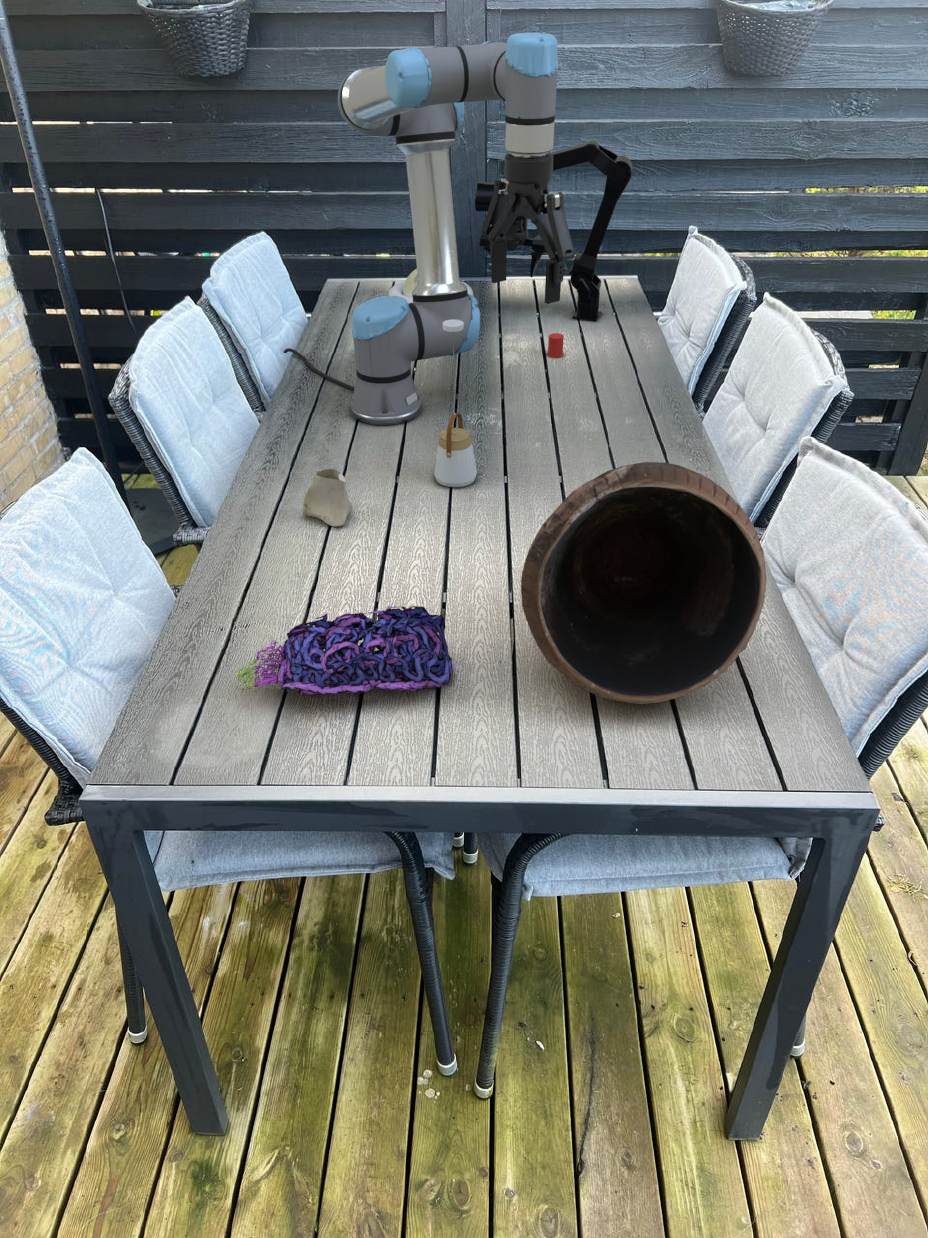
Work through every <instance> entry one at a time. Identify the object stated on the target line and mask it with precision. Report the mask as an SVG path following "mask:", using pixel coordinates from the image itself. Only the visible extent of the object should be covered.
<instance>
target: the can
mask: <svg viewBox="0 0 928 1238" xmlns="http://www.w3.org/2000/svg"><path fill="white" fill-rule="evenodd" d="M564 339H565V336H564V334H563V333H559V332H554V333H553V332H552V333H550V334H549V335H548V342H547V356H548V357H549V358H554V359H558V358H561V357H563V355H564Z"/></svg>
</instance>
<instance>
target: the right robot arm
mask: <svg viewBox="0 0 928 1238" xmlns="http://www.w3.org/2000/svg"><path fill="white" fill-rule="evenodd" d="M550 153H551V154H552V155H553V171H557V170H562V169H565V168H568V167H572V166H576V165H581V164H584V163H589V164H591V165H592V166H593V167H594V168H596V169H597V170H598V171H599V172H600V173H601V174H603V175H604V176H606V180H605V184H604V185H605V186H604V191H603V196H602V199H601V202H600V205H599V208H598V209H597V214H596V216H595V218H594V221H593V225H592V228H591V230H590V232H589V236H588V239H587V241H586V245H585V247H584V248H583V251H582V252H581V253H579V252H575V257H574V258H573V263H572V265H571V266H570V269H569V272H568V275H569V276H570V284H571V286H572V287H573V289H575V290H576V292H577V302H576V303H577V305H576V312H575V313H574V314H573V315H572V319H574V320H582V321H589V322H590V321H591V322H596V321H598V319H599V318H600V317H601V316H602V314H603V311H599V309H600V308H599V307H600V297H601V296H600V295H601V292H600V291H601V286H602V279H601V278H600V277H599V276H598V275H597V274H596V273H595V271H596V266H597V261H598V255H599V252H600V249H601V247H602V244H603V241H604V238H605V236H606V233H607V231H608V227H609V225H610V221H611V220H612V218H613V217H612V216H613V214H614V210H615V208H616V205H617V203H618V201H619V200H620V198H621V196H622V195H623V193H624V191H625V190H626V187H627V186H628V184H629V182H630V181H631V178H632V174H633V170H634V169H633V168H634V167H633V166H634V165H633V162H632V160H631V159H630V158H629V157H627V156H626V155H618V154H616V153H614V152H613V151H612V150H610V149H607V148H606V147H604V146H602V145H601V144H599V143H598V142H597V141H595V140H589V141H587V142H585V143H581V144H578V145H574V146H570V147H567V148H561V149H559V150H556V151H555V150H554V151H552V152H551V151H550ZM504 178H505V177H504V176H503V177H501V178H500V179H504ZM493 194H494V182H486V181H478V182H477V184H476V193H475V198H474V208H475V209H474V210H475V211H476V212H485V213H487V212H488V209H489V206H490V203H491V200H492V197H493ZM508 200H509V197H508ZM508 200H507V202H508ZM528 220H529V219H527V218H525V217H524V216H517V218H516V219H515V221H514V222H513V224H512V225H511V227H510V229H509V230H508V232H507V233H506V235H505V237H506V238H505V239H501V241H502V240H505V241H507V251H509V252H513V251H515V250H516V249H517V247H518V246H524V247H531V249H532V251H531V252H530V256H531V257H530V258H531V259H530V260H531V262H530V270H529V274H530V275H529V277H530V278H533V277H534V275H535V273H536V270H537V268H538V264H539V263H540V261H541V258H542V257H543V255H544V254H547V251H546V249H545V246H544V244H543V242H542V239H541V237H540V235H539V234H538V235H537V236H535V237H534V238H530V237H528V236H529V234H530V233H529V231H528ZM478 246H479V247H483V250H484V251H487V252H488V254H490V241H489V239H488V237H487V236H486V235H482V233H481V234H479V236H478Z"/></svg>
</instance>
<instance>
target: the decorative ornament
mask: <svg viewBox="0 0 928 1238" xmlns="http://www.w3.org/2000/svg"><path fill="white" fill-rule="evenodd" d="M401 608H402V609H400V607H398V606H391V605H390V606H387V608H386V609H385V610H375V611H369V612H357V613H347V612H346V613H345V614H341V615H339V616H336V617H335V619H333V620H328V613H325V614H323V615H322V616H317V617H316V618H314V620H313V621H309V622H303V623H300V624H298V625H294V627H292V628H291V629H290V630H289V631H288V632H287V633H286V636H287V639H286V640H284V643H283V644H280V645H278V646H277V644H278V641H277V640H274V639H273V640H272V641H270V643H268V644H269V646H265V649H264V648H262V649H261V650H260V651H259V650H258V651H257V653H256V655H255V656H254V657H255V658H254V659H253V660H252V661H250V663H248V664H247V665H245V666H243V667H241V668H239V669H238V670H236V673H235V675H236V677H235V679H238V681H239V683H238V684H237V686H236V688H235V690H238V689H240V687H239V686H242V685H243V684H244V685H243V686H242V687H241V689H242V690H241V693H243V692H244V690H251V689H260V688H261V689H260V690H262V691H263V688H264V686H266V688H267V690H268V689H269V690H270V689H273V687H269V688H268V686H271V685H276V689H280V690H285V692H286V693H289V691H290V690H298V691H297V693H298V695H301V696H310V697H311V696H312V697H317V696H331V695H342V694H347V693H348V694H365V693H370V690H395V691H397V690H402V691H403V692H404V693H405V692H419V691H420V690H421V689H433V688H434V689H436V688H438V689H439V688H442V684H444V683H445V684H446V683H450V680H451V677H452V673H453V672H454V670H453V658H452V657H451V656H450V654H449V652H450V651H449V647H448V643H447V640H446V635H445V633H444V630H445V629H446V621H445V617H444V616H443V614H430V613H429V612H428V610H427V609H426V608H425V607H424V606H419V605H418V606H416V605H412V606H410V607H405V606H401ZM366 614H376V618H377V619H376V618H375V619H374V618H370V617H368V616H367V615H366ZM373 621H375V622H373ZM360 641H361V642H360ZM359 642H360V644H359ZM276 646H277V647H276ZM376 649H377V650H376ZM265 653H267V655H265ZM251 666H253V667H251ZM265 666H266V667H265ZM253 674H254V675H253ZM425 675H426V676H425ZM278 685H280V686H278ZM277 686H278V687H277Z"/></svg>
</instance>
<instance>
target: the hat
mask: <svg viewBox="0 0 928 1238" xmlns="http://www.w3.org/2000/svg"><path fill="white" fill-rule="evenodd" d="M460 281H461V282H462V283H464V284H465V285H466V286H467V290H468V294H470V295H473V296H474V291H473V289H472V287H471V286H470V285H469V284H468V283H466V282H464V281H462V280H460ZM417 285H418V274H417V268H415V269H414V270H413V271H411V273H409V275H407V277H406V279H404V280H402V281H400V282H397V283H396V284H394V285H393V286H392V287H391V288H390V289H389V291H388V295H387V296H389V297H391V296H399V297H402V298H404V299H406V301H407V303H413V296H412V292H413V290H414V289H415V288H416V286H417Z"/></svg>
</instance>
